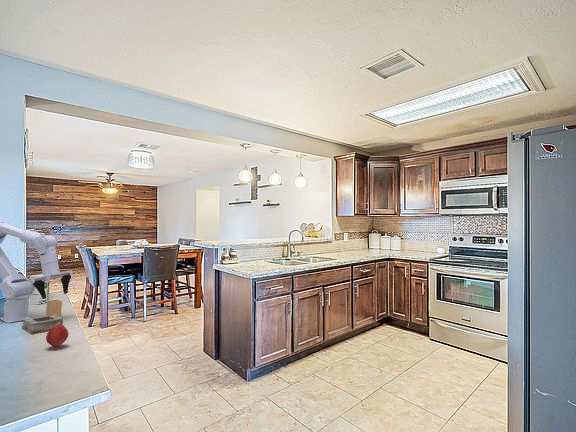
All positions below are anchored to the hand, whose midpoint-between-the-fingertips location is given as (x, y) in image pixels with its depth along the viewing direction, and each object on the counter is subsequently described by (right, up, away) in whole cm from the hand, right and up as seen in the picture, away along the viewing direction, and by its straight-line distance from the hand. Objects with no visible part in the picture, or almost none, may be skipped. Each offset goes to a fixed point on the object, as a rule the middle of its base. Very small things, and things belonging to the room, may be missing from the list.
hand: (55, 296), depth 131 cm
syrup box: (-31, -11, +30) cm, 44 cm away
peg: (-2, -11, +1) cm, 11 cm away
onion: (+21, -10, -29) cm, 37 cm away
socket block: (+2, -10, -10) cm, 14 cm away
